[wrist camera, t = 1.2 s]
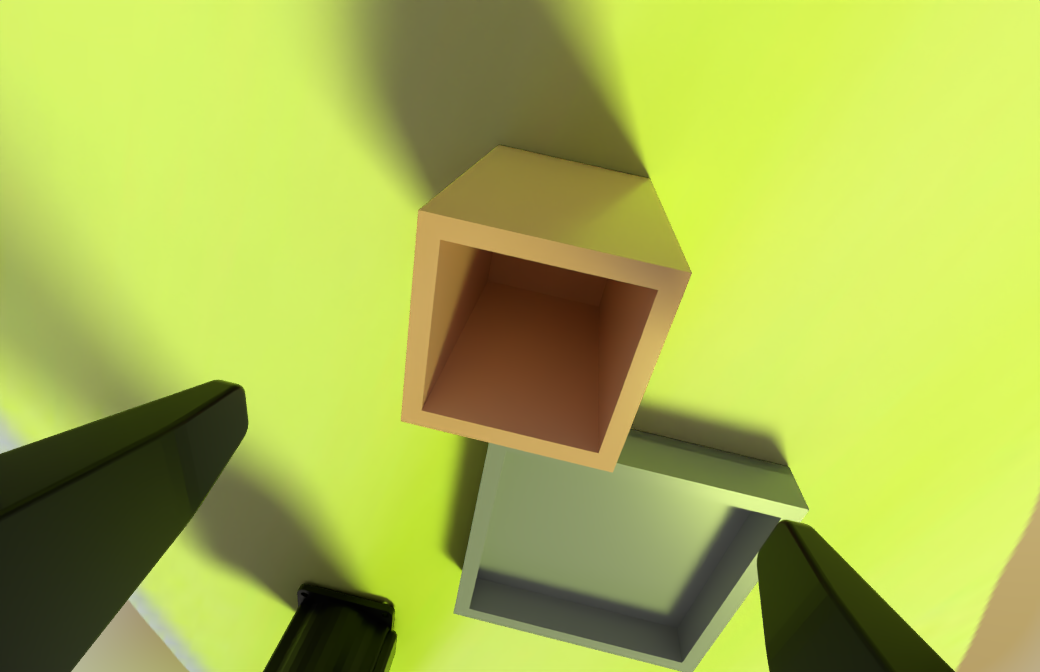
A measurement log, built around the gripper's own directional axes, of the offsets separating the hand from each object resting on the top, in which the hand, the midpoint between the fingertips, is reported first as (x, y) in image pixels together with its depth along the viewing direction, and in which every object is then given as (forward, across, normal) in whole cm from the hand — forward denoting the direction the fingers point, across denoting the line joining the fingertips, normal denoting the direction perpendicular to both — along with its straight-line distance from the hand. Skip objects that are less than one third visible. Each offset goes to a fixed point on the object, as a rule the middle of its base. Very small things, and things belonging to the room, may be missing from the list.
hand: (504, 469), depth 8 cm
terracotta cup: (+12, 0, 0) cm, 12 cm away
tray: (+12, -6, +15) cm, 20 cm away
